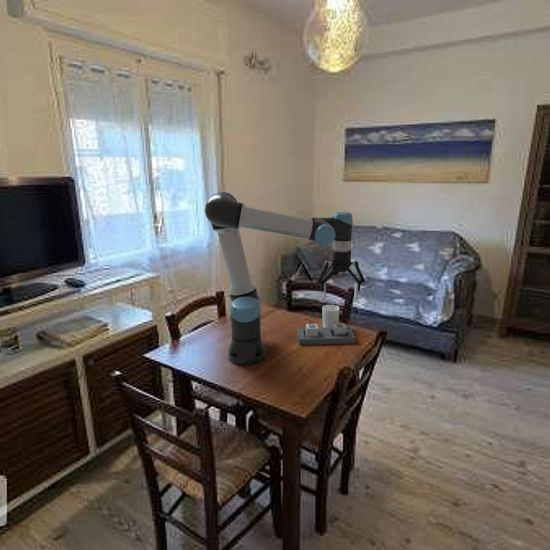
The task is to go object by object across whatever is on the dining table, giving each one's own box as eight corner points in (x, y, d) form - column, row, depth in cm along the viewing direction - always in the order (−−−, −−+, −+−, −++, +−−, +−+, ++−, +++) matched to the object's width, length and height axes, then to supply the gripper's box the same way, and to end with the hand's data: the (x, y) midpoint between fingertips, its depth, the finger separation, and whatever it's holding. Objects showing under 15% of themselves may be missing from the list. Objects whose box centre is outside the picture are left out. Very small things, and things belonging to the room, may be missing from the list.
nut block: (334, 341, 174) (335, 327, 172) (332, 336, 179) (332, 322, 177) (346, 340, 174) (346, 327, 173) (343, 335, 179) (344, 322, 177)
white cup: (338, 324, 191) (339, 304, 188) (339, 331, 183) (340, 311, 180) (321, 324, 191) (322, 304, 189) (321, 331, 184) (322, 310, 181)
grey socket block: (299, 344, 171) (299, 331, 169) (297, 333, 182) (297, 320, 180) (355, 343, 172) (355, 329, 170) (349, 332, 182) (350, 319, 180)
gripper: (312, 252, 161) (312, 301, 168) (374, 251, 162) (371, 300, 168) (310, 248, 169) (309, 295, 175) (369, 247, 169) (366, 294, 175)
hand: (339, 298), depth 171 cm, fingers open, 13 cm apart
